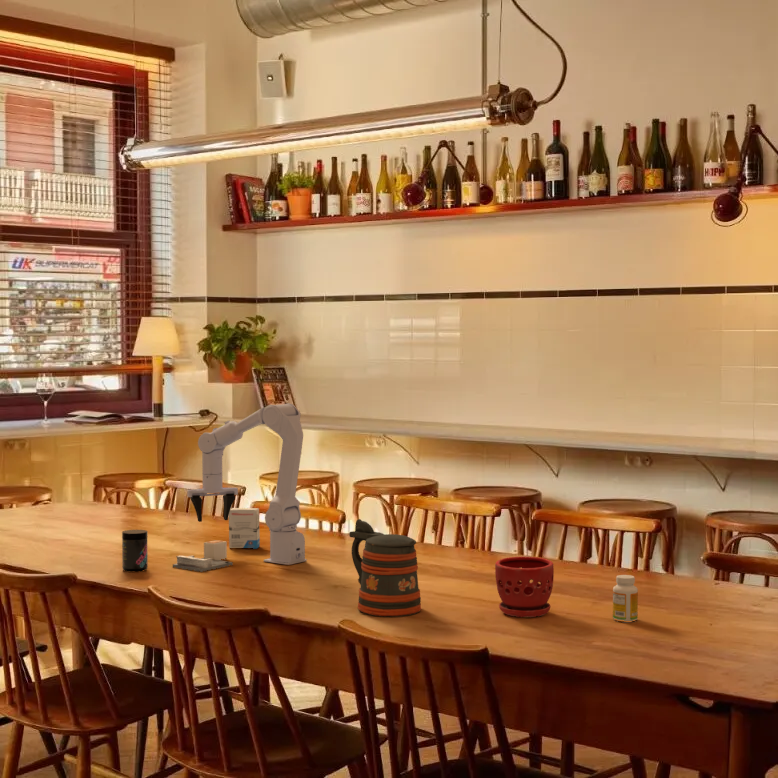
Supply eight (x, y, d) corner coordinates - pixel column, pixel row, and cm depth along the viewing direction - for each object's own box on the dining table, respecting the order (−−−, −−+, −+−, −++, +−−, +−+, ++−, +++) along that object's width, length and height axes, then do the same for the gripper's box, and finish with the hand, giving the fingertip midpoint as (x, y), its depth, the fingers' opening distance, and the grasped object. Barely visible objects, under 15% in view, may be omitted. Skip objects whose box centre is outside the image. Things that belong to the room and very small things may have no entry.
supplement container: (133, 573, 312) (132, 534, 312) (116, 570, 317) (116, 531, 316) (153, 569, 318) (152, 531, 317) (136, 566, 322) (136, 528, 322)
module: (226, 559, 334) (226, 541, 333) (214, 561, 330) (214, 543, 329) (216, 557, 336) (216, 539, 336) (203, 560, 332) (203, 542, 332)
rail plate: (232, 565, 324) (232, 554, 324) (201, 571, 314) (201, 561, 314) (203, 560, 331) (203, 550, 330) (172, 567, 321) (172, 556, 321)
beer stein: (329, 609, 271) (329, 522, 270) (368, 598, 283) (368, 515, 282) (395, 620, 260) (396, 530, 259) (433, 608, 272) (433, 522, 271)
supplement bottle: (634, 617, 263) (634, 574, 263) (640, 622, 258) (640, 578, 258) (610, 617, 263) (610, 574, 263) (615, 622, 258) (616, 578, 258)
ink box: (260, 546, 354) (260, 507, 354) (256, 549, 349) (256, 509, 349) (232, 546, 355) (232, 507, 354) (228, 548, 350) (228, 509, 350)
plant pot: (490, 607, 273) (491, 556, 272) (546, 607, 273) (547, 555, 273) (500, 621, 260) (500, 567, 259) (558, 620, 260) (559, 566, 260)
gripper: (233, 471, 347) (233, 517, 348) (184, 473, 342) (185, 520, 342) (239, 473, 340) (239, 520, 341) (189, 476, 335) (190, 523, 336)
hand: (212, 520), depth 341 cm, fingers open, 7 cm apart
